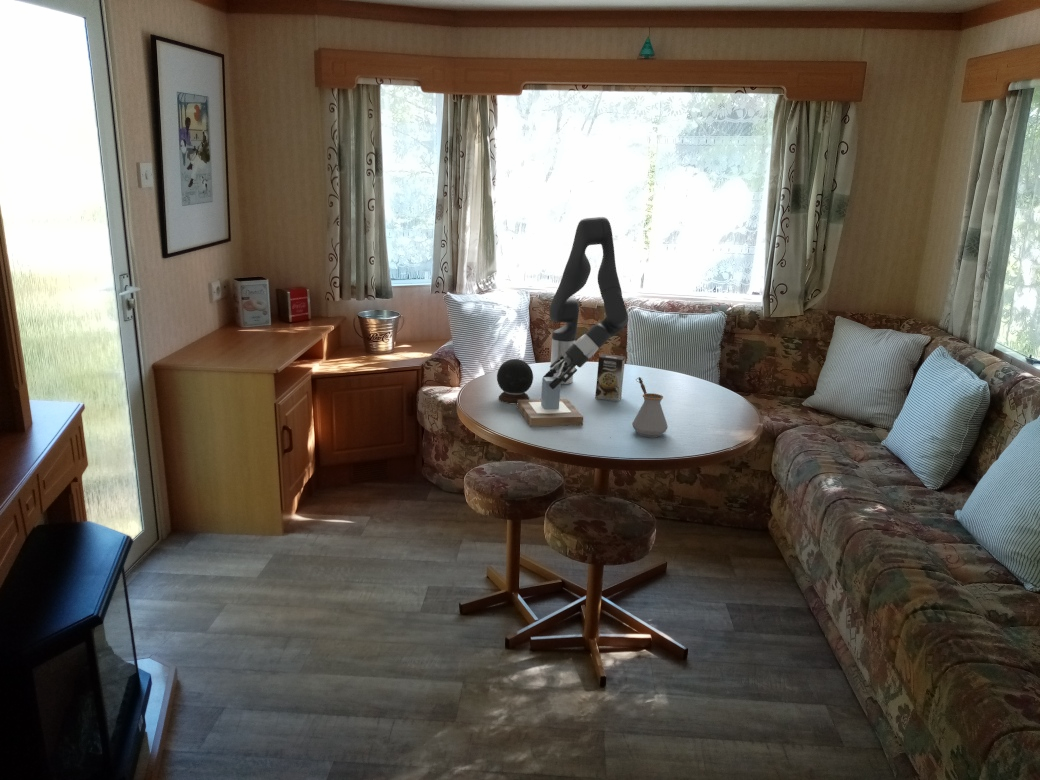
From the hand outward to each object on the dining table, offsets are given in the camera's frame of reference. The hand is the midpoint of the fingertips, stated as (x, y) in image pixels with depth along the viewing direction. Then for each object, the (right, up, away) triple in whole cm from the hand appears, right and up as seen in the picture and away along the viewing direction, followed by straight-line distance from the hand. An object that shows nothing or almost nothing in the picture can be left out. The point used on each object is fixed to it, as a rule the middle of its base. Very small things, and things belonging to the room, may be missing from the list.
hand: (547, 383), depth 263 cm
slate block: (+1, -8, +3) cm, 8 cm away
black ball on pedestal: (-11, -6, +21) cm, 24 cm away
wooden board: (+1, -11, +4) cm, 12 cm away
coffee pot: (+32, -15, -4) cm, 36 cm away
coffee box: (+24, -5, +28) cm, 37 cm away
